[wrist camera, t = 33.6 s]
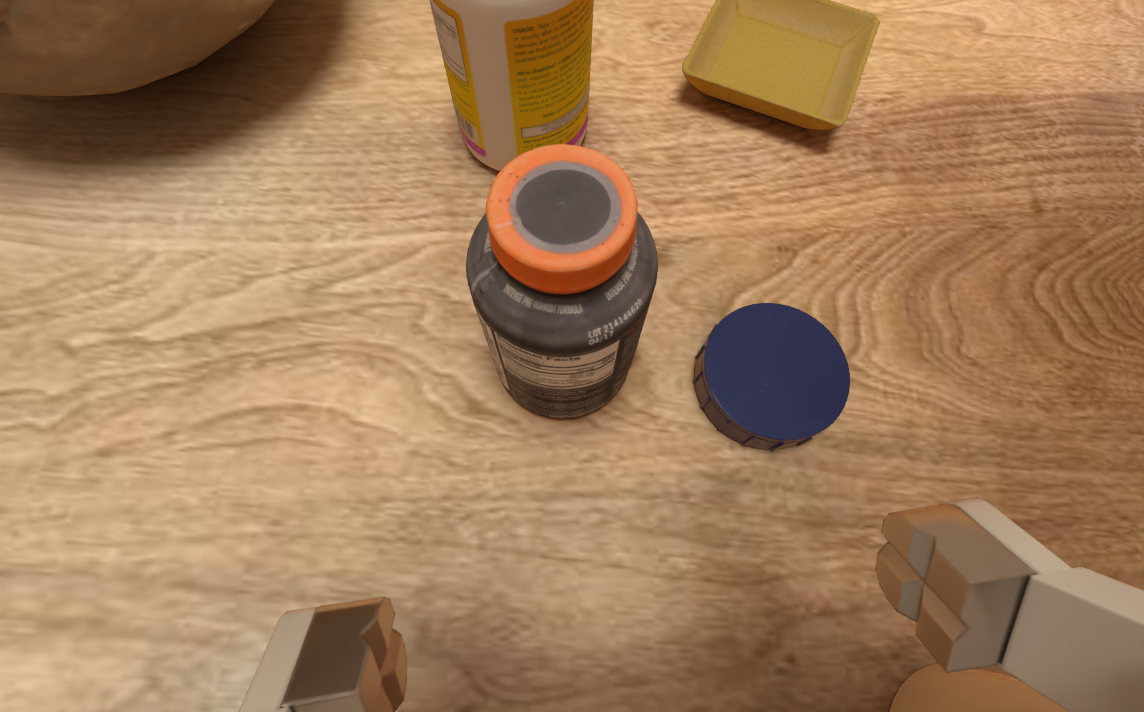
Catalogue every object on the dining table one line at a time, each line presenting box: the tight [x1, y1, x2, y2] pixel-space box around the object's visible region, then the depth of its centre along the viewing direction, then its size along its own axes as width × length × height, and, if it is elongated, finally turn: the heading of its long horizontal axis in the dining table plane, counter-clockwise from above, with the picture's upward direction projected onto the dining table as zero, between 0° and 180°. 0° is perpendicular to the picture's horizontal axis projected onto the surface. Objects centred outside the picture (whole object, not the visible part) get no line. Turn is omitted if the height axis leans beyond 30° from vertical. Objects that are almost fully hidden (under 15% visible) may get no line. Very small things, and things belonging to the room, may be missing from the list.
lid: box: [693, 303, 850, 451], centre depth 24 cm, size 6×6×2 cm
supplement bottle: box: [429, 0, 594, 171], centre depth 23 cm, size 7×7×13 cm
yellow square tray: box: [682, 0, 880, 130], centre depth 30 cm, size 9×9×2 cm
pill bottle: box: [466, 144, 658, 419], centre depth 20 cm, size 6×6×11 cm
